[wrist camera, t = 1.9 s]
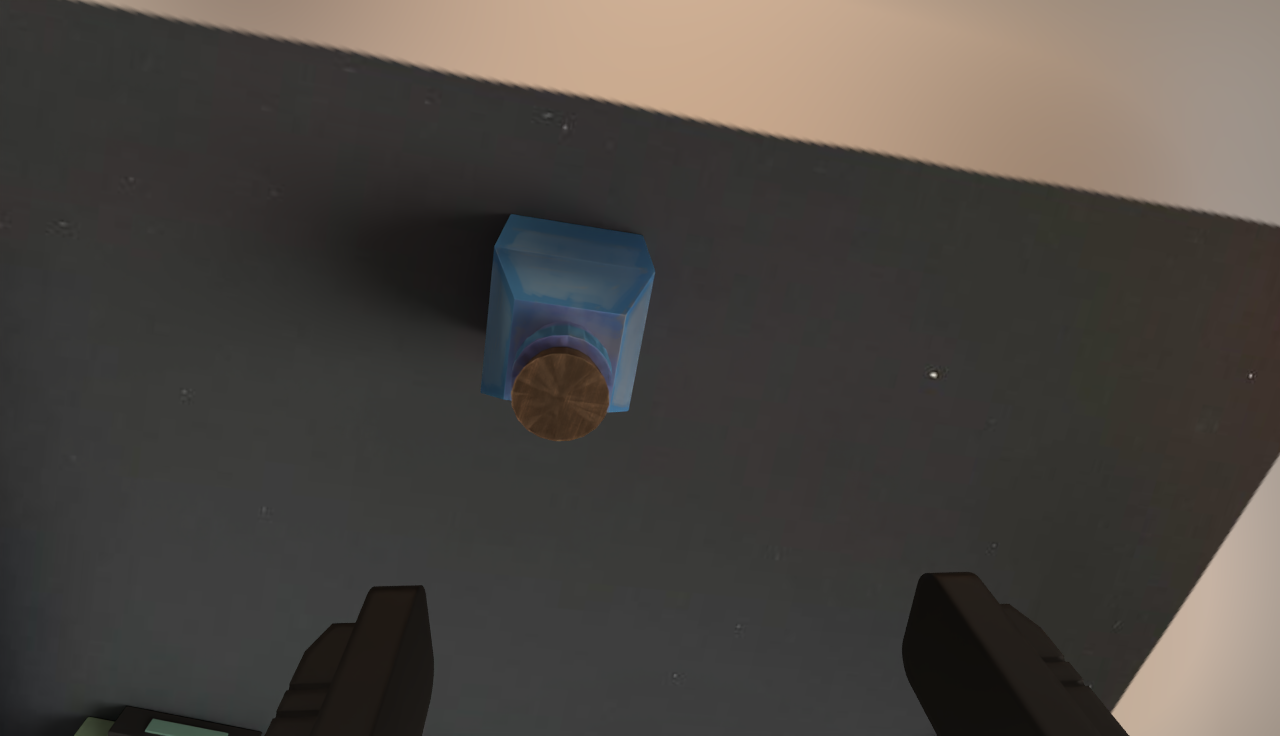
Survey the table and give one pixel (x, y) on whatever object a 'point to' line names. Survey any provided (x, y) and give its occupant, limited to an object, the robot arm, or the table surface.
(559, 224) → the perfume bottle
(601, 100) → the table surface
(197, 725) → the scale
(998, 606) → the robot arm
